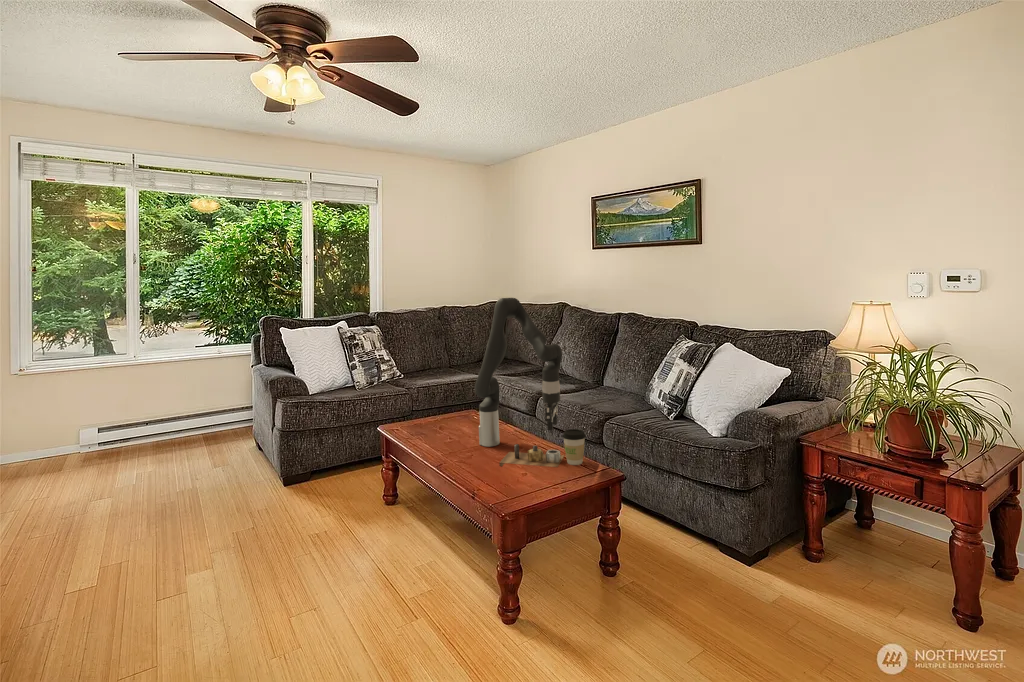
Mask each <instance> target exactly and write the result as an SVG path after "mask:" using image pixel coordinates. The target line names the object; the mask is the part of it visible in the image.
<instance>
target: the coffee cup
mask: <svg viewBox="0 0 1024 682" xmlns="http://www.w3.org/2000/svg"><path fill="white" fill-rule="evenodd" d="M562 438H563V441H564V444H563V446H564V451H565V459H566V463H567V464H568V465H569V466H578V465H582V464H583V460H584V451H585V438H587V437H586V433H585V431H584V430H582V429H578V428H571V429H566V430H564V432H563V434H562Z"/></svg>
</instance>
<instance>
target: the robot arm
mask: <svg viewBox="0 0 1024 682" xmlns="http://www.w3.org/2000/svg"><path fill="white" fill-rule="evenodd" d="M512 318H513V319H515V320H516V321H517V322H518V323H519V324H520V326H521V331H522V334H523V336H524V338H525V339H526V341H528V343H529V344H530V345H531V346H532V347H533V350H534V352H535V354H536V356H537V357H538V359H539V360H540V361H541V362H543V363H548V364H547V365H546V366H544V367H543V368H542V373H541V374H542V383H541V384H542V385H541V387H542V389H541V390H542V392H541V393H542V402H543V403H545V404H547V405H546V406H545V408H544V410H545V411H544V412H545V413H544V416H545V418H544V419H545V422H546V425H547V426H546V427H547V431H550V432H551V431H553V430H554V426H555V425H557V424H558V414H559V402H560V401H561V385H560V367H561V363H562V358H563V351H562V347H561V346H560V345H559V344H557V343H551V344H546V342H547V341H548V340H547V339H548V338H547V336H546V335H545V334H544V332H542V330H541V329H539V327H538V326H537V325H536V324H535V323H534V321H533V320H532V318H531V317H530V314H528V312H527V311H526V309H525V308H524V305H523V304H522V303H521V302H520V300H519V299H517V298H516V297H501V298H499V299H498V300H497V301H496V303H495V306H494V310H493V318H492V321H491V322H492V323H491V329H490V333H489V337H488V340H487V344H486V349H485V352H484V356H483V360H482V363H481V367H480V369H479V372H478V376H477V378H476V380H475V383H474V392H475V395H476V396H477V397H478V398H481V399H483V401H482V402H481V403H480V404H479V405H478V409H479V410H478V411H479V425H478V438H479V439H478V441H479V444H478V445H479V446H482V447H488V448H489V447H496V446H498V445H500V441H501V439H500V420H499V419H500V418H499V405H500V383H499V381H498V379H497V378H496V377H494V376H493V375H494V373H495V371H496V370H497V368H498V367H499V366H500V364H502V361H503V360H504V358H505V356H506V350H507V347H508V342H507V341H508V340H507V337H506V334H505V324H506V321H507V319H512ZM553 425H554V426H553Z"/></svg>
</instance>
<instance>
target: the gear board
mask: <svg viewBox="0 0 1024 682" xmlns="http://www.w3.org/2000/svg"><path fill="white" fill-rule="evenodd" d="M560 457H561V459H560V461H559V462H558V463H549V462H546V453H544V451H543V449H541V448H538V445H532V448H530V449H529V450H527V452H521V451H520V445H519V444H518V443H517V444H514V451H509V452H507V453H506V454H505V456H504V457H503V458H502V459H501V460H500V461H499V466H500V467H503V466H504V465H505V464H511V465H512V464H514V465H526V466H536V467H537V466H539V467H548V468H549V467H550V468H551V467H552V468H558V467H559V466H560V464H561V463H562V461H563V459H564V457H565V455H561V454H560Z"/></svg>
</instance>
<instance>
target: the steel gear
mask: <svg viewBox="0 0 1024 682" xmlns="http://www.w3.org/2000/svg"><path fill="white" fill-rule="evenodd" d="M545 454H546V462H549V463H558V462H559V461H560V459H561V457H560V455H561V450H558V449H548V450H546V452H545Z"/></svg>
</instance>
